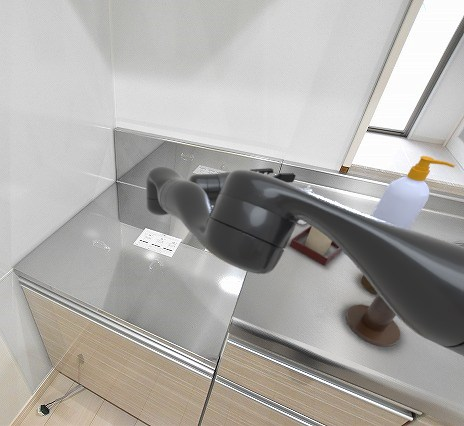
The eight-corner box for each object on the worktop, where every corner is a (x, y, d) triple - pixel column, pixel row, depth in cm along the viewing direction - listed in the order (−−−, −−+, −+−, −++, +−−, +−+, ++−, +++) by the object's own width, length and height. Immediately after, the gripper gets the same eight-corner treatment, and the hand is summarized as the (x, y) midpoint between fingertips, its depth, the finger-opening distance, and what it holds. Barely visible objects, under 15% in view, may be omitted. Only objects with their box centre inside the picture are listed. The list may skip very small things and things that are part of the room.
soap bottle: (398, 251, 78) (451, 170, 64) (359, 234, 84) (399, 157, 70) (408, 237, 82) (459, 159, 68) (370, 222, 88) (410, 147, 74)
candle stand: (405, 329, 59) (445, 283, 51) (387, 356, 55) (427, 309, 47) (357, 300, 65) (386, 254, 57) (337, 322, 61) (365, 276, 53)
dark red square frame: (342, 250, 78) (346, 243, 77) (324, 266, 74) (327, 259, 72) (308, 232, 85) (310, 225, 83) (289, 246, 80) (291, 239, 79)
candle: (299, 243, 81) (311, 214, 75) (316, 239, 82) (328, 210, 76) (315, 257, 76) (328, 227, 71) (331, 252, 78) (346, 222, 72)
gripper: (250, 191, 58) (328, 188, 59) (227, 159, 69) (292, 158, 70) (242, 221, 62) (314, 218, 63) (222, 187, 73) (283, 185, 75)
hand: (303, 186), depth 67 cm, fingers open, 8 cm apart
